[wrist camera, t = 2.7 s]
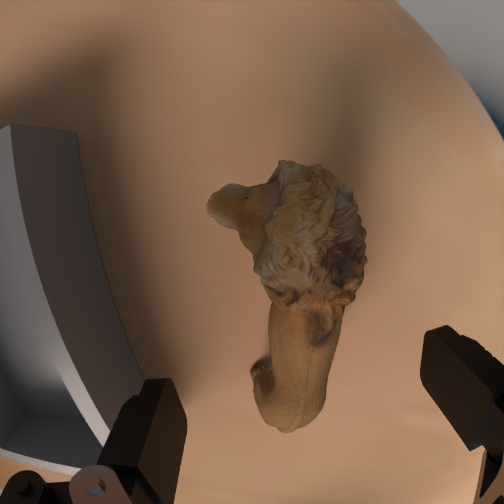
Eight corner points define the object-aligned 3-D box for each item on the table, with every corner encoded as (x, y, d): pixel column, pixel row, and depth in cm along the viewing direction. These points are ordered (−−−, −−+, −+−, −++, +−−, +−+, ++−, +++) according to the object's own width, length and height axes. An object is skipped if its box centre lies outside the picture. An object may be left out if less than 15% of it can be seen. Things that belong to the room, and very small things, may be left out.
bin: (-54, 197, 15) (-106, 211, 9) (76, 132, 15) (10, 123, 9) (29, 415, 20) (1, 455, 14) (164, 423, 20) (148, 485, 14)
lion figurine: (218, 169, 16) (187, 170, 7) (320, 158, 16) (402, 151, 7) (253, 399, 19) (258, 512, 11) (331, 387, 19) (368, 493, 11)
